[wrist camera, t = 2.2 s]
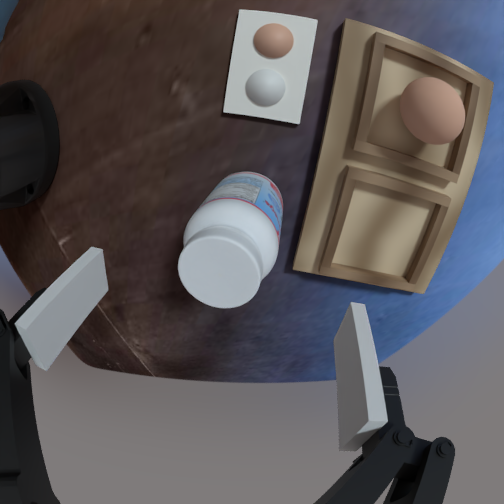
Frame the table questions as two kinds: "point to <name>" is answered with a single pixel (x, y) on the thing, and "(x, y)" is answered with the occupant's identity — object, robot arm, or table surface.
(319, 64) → the table surface
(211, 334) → the table surface
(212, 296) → the pill bottle
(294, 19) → the card
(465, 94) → the tray
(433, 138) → the egg
